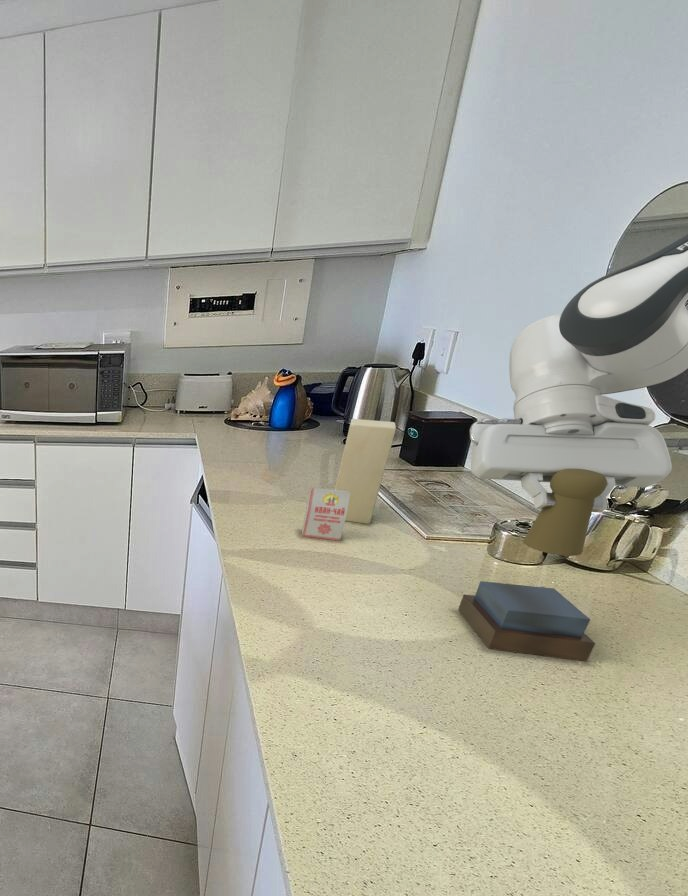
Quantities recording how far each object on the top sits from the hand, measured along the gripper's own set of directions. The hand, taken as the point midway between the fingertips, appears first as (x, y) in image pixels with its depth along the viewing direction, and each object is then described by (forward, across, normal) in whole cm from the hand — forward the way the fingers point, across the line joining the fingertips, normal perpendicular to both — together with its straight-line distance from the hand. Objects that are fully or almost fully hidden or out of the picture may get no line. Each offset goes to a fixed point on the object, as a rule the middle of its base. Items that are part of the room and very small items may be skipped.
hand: (571, 508), depth 77 cm
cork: (+4, 0, +5) cm, 6 cm away
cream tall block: (-18, -12, +47) cm, 52 cm away
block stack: (+14, 0, +14) cm, 20 cm away
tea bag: (-9, -20, +38) cm, 44 cm away
